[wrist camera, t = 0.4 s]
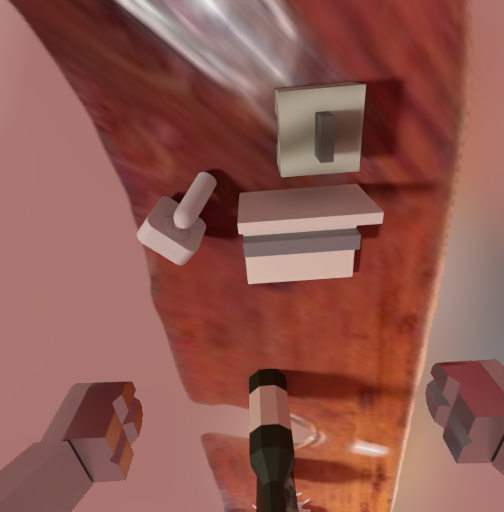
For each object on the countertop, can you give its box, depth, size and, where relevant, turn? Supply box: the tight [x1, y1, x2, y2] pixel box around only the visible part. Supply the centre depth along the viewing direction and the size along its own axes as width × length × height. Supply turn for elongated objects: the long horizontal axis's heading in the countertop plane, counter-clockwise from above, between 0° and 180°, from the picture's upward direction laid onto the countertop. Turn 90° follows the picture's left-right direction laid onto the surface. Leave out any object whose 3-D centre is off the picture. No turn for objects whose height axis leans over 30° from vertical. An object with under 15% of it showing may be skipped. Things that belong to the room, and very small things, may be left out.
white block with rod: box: [137, 172, 217, 265], centre depth 48 cm, size 8×10×10 cm
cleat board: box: [238, 184, 384, 284], centre depth 50 cm, size 16×18×12 cm
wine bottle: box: [249, 369, 295, 512], centre depth 60 cm, size 8×8×30 cm
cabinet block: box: [274, 82, 366, 177], centre depth 42 cm, size 10×10×11 cm
